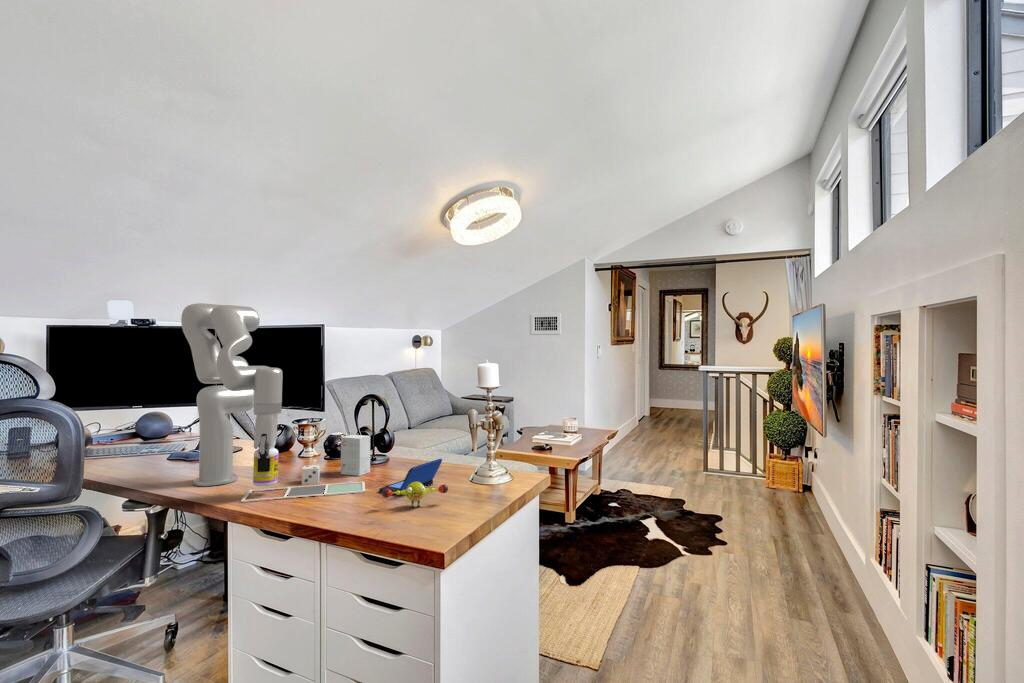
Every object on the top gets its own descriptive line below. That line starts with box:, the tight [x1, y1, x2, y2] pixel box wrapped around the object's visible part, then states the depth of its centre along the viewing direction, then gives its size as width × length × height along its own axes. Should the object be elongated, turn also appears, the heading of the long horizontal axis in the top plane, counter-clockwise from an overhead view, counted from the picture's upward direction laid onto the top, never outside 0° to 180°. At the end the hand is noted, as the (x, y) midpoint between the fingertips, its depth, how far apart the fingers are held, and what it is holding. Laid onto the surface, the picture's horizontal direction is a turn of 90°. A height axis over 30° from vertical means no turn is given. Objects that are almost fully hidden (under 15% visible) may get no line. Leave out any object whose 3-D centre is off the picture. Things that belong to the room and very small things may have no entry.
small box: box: [340, 434, 371, 477], centre depth 173 cm, size 8×6×13 cm
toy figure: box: [381, 482, 449, 508], centre depth 135 cm, size 18×6×7 cm, turn 106°
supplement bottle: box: [252, 441, 280, 487], centre depth 146 cm, size 7×7×13 cm
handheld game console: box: [378, 458, 443, 497], centre depth 152 cm, size 16×13×9 cm
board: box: [240, 481, 366, 503], centre depth 149 cm, size 12×34×1 cm, turn 107°
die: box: [301, 464, 321, 485], centre depth 161 cm, size 5×5×5 cm
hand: (265, 467), depth 146 cm, fingers closed on supplement bottle, 6 cm apart
